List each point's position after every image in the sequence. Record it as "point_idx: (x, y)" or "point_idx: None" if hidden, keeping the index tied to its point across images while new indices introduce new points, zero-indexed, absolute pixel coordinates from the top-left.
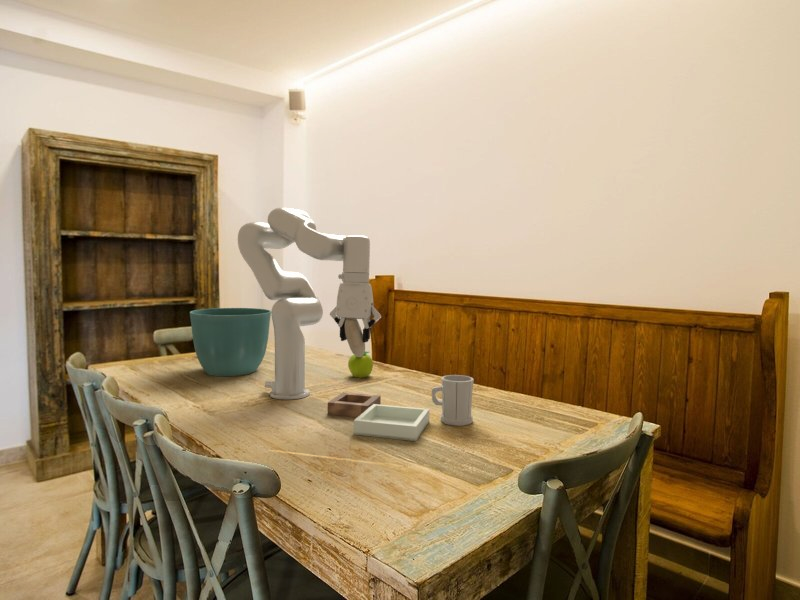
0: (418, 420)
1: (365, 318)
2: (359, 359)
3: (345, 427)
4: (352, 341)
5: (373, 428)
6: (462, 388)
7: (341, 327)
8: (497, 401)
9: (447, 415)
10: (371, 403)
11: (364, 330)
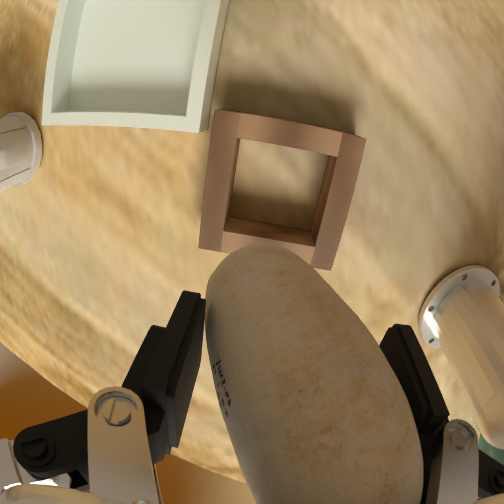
0: (59, 15)
1: (55, 487)
2: None
3: (272, 18)
4: (303, 275)
5: None
6: None
7: (445, 413)
8: (3, 302)
9: (16, 121)
10: (209, 149)
11: (156, 372)
